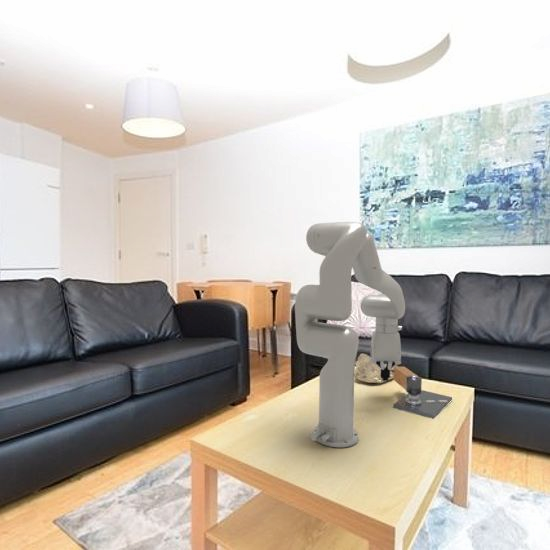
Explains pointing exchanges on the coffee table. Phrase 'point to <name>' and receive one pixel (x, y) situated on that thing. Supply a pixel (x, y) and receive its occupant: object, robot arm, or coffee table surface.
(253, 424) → the coffee table surface
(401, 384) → the orange boxy piece
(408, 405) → the post base
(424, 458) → the coffee table surface
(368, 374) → the stone
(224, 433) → the coffee table surface
